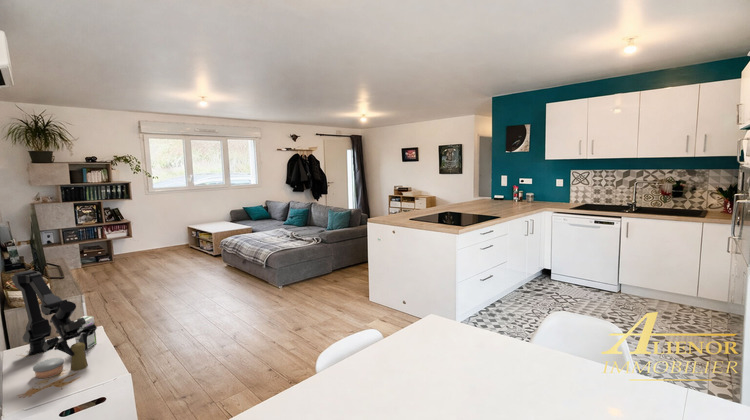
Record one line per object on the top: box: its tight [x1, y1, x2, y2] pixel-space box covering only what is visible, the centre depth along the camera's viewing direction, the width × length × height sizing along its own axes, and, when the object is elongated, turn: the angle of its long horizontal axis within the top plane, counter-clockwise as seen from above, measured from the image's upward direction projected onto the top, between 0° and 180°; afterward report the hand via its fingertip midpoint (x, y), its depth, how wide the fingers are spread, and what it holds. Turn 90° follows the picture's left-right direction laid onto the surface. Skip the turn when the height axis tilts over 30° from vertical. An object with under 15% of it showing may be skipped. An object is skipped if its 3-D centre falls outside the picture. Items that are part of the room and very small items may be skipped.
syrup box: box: [73, 315, 97, 349], centre depth 180 cm, size 6×6×14 cm
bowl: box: [34, 363, 64, 379], centre depth 157 cm, size 9×9×3 cm
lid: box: [32, 357, 65, 373], centre depth 157 cm, size 10×10×1 cm
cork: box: [69, 342, 88, 372], centre depth 162 cm, size 6×6×11 cm
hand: (79, 352), depth 161 cm, fingers closed on cork, 5 cm apart
